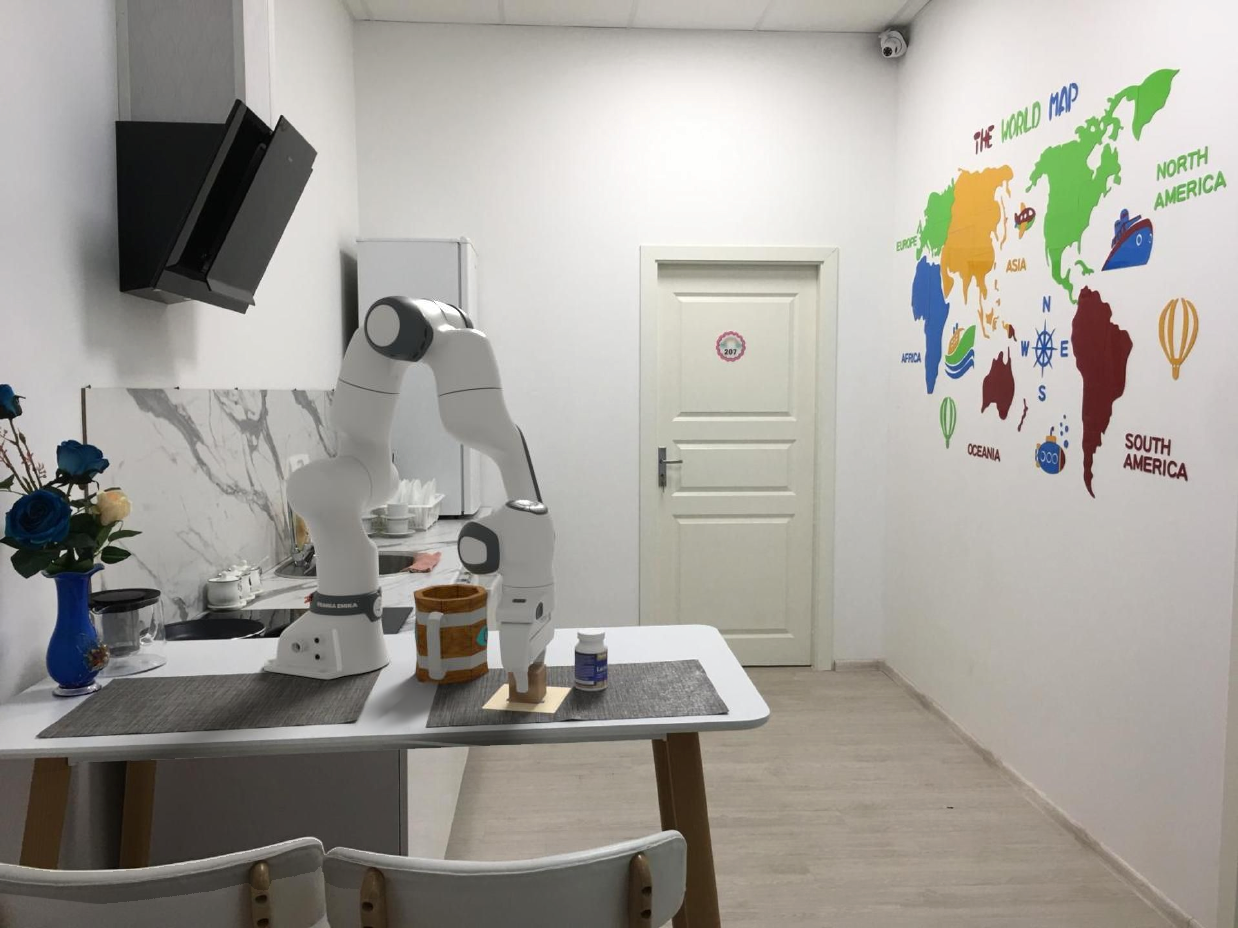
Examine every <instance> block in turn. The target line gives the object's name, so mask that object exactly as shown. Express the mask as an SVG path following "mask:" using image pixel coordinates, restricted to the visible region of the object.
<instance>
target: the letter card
mask: <svg viewBox="0 0 1238 928" xmlns="http://www.w3.org/2000/svg"><path fill="white" fill-rule="evenodd" d="M571 690H572V687H566V686H565V687H563V686H562V687H561V686H560V687H559V686H547V685H546V692H547V694H546V695H545V696H544V698H543V699H542V700H541V701H540V703H539V704H533V703H517V702H509V683H503V685H502V686H500V687H499V688H498V690H497V691H496V692H495V693H494V694H493V695H492V696H491V697H490V699H489V700H487V702H486V703H485V704H484V705H483V706H482V707H481V709H484V710H499V711H500V710H501V711H512V712H513V711H514V712H526V713H528V712H529V713H530V712H532V713H542V714H543V713H544V714H545V713H547V714H555V713H556V711H557V710H558V709H559V708H560V706H561V705H562V703H563V701H564V700H565V698H566V697H567V695H568V694H569V693H570V691H571Z"/></svg>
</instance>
